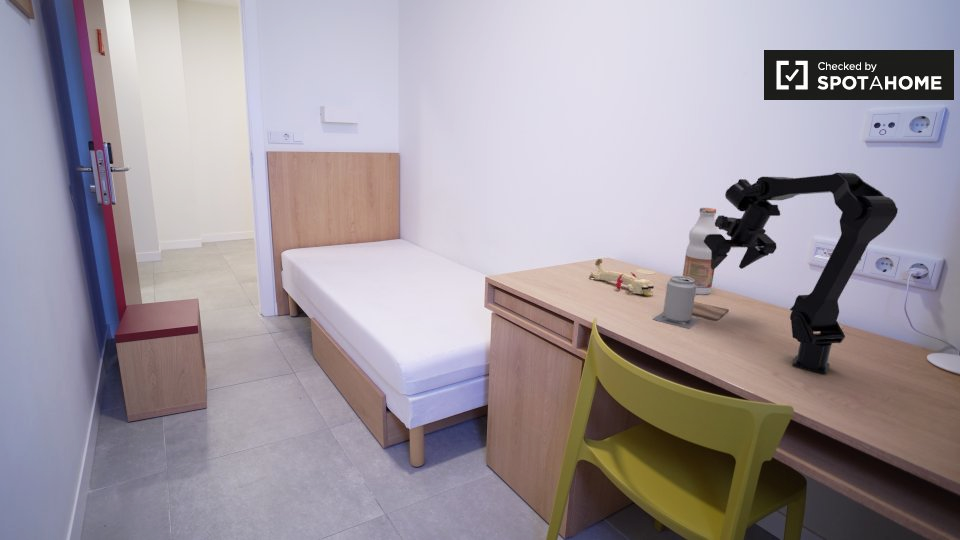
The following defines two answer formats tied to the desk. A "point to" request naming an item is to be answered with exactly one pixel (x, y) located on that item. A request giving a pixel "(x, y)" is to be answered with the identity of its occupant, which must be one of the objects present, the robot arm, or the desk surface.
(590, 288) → the desk surface
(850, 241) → the robot arm
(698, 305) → the board
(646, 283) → the cream voxel animal
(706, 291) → the fruit juice
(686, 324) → the tile
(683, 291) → the can
